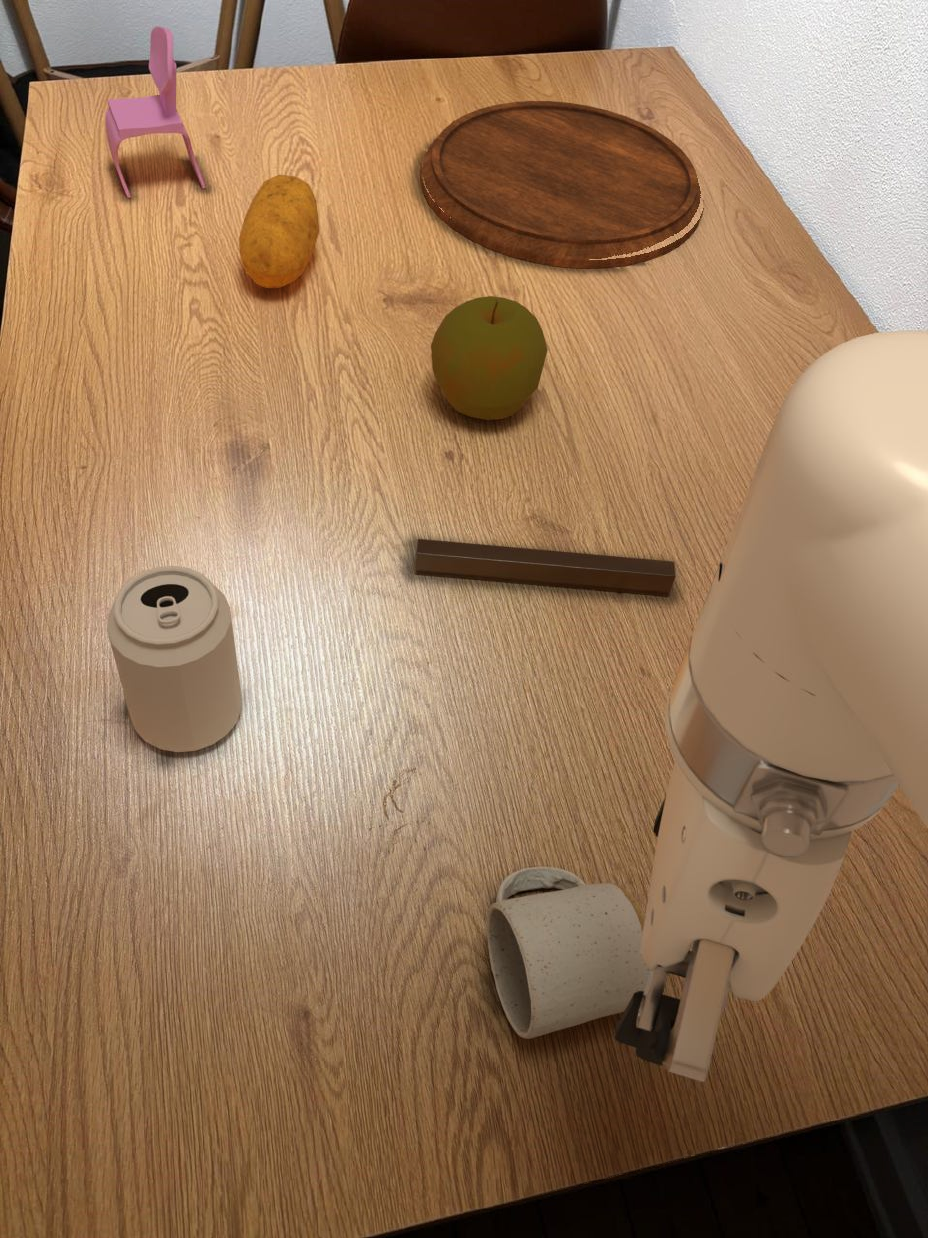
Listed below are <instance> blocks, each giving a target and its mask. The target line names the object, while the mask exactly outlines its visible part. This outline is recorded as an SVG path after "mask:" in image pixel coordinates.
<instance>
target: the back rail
mask: <svg viewBox="0 0 928 1238" xmlns="http://www.w3.org/2000/svg"><path fill="white" fill-rule="evenodd" d="M416 540H417V541H416V542H417V543H416V551H415V564H414V574H415V575H421V576H431V577H443V578H455V579H466V580H478V581H479V580H480V581H489V582H501V583H510V584H511V583H512V584H523V585H524V584H525V585H536V586H545V587H546V586H547V587H558V588H569V589H581V590H591V591H592V590H593V591H603V592H615V593H626V594H637V595H638V594H639V595H649V596H661V597H670V594H671V591H672V589H673V585H674V582H675V579H676V578H677V577H676V576H677V575H676V566H675V561H672V560H661V559H651V558H650V559H649V558H640V557H629V556H628V557H627V556H617V555H605V554H594V553H583V552H570V551H561V550H560V551H559V550H551V549H550V550H549V549H537V548H527V547H517V546H516V547H514V546H506V545H505V546H503V545H493V544H483V543H482V544H480V543H469V542H458V541H447V540H437V539H425V538H424V539H423V538H418V539H416Z"/></svg>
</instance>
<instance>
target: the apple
mask: <svg viewBox="0 0 928 1238" xmlns="http://www.w3.org/2000/svg"><path fill="white" fill-rule="evenodd" d="M430 353H431V366H432V372H433V375H434V377H435V380H436V382H437V385H438V387H439V388H440V390H441V392H442V395H443V396H444V398H445V400H446V402H447V403H448V404H449V405H450V406H451V407H452V408H453V409H454V410H455V411H456V412H457V413H460V414H462V415H465V416H468V417H469V418H475V419H480V420H487V421H490V420H503V419H506V418H508V417H511V416H513V415H516V414H517V413H519V411H520V410H521V409H522V407H523V406H524V405H525V403H527V402H528V400H529V399H530V398H531V396H532V395H534V393H535V392H536V391H537V389H539V386H540V381H541V378H542V374H543V369H544V366H545V361H546V357H547V354H548V345H547V343H546V338H545V334H544V330H543V328H542V326H541V324H540V322H539V320H538V318H537V317H536V316H535V314H533V313H532V312H531V311H530V310H529V309H528V308H527V307H525V305H523V304H521V303H520V302H518V301H516V300H513V299H509V298H506V297H503V296H494V295H493V296H492V295H487V296H481V297H476V298H475V297H474V298H471V299H469V300H466V301H465V302H462V303H461V304H459V305H458V306H456V307H454V308H453V309H452V310H450V311H449V313H447V314H446V315H445V316H443V319H442V320H441V322H440V324H439V326H438V327H437V329H436V331H435V332H434V336H433V338H432V340H431V344H430Z"/></svg>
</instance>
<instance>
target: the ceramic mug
mask: <svg viewBox="0 0 928 1238" xmlns="http://www.w3.org/2000/svg"><path fill="white" fill-rule="evenodd" d="M552 888H554V889H559V890H555V891H547V892H542V893H536V894H535V893H534V894H530V895H525V896H519V897H518V896H517V897H514V898H513V897H512V898H510V897H511V896H513V895H516V894H517V893H519V892H524V891H530V890H540V889H552ZM495 899H496V900H495V902H493V903H492V904H490V907H489V909H488V910H487V911H488V913H487V919H486V938H487V949H488V956H489V964H490V968H491V972H492V976H493V979H494V982H495V988H496V992H497V995H498V997H499V1001H500V1004H501V1007H502V1010H503V1011H504V1014H505V1017H506V1018H507V1021H508V1022H509V1024H510V1026H511V1027H512V1029H513V1030H514V1032H515V1034H516V1035H517V1036H518V1037H520V1038H523V1039H526V1040H530V1039H534V1038H537V1037H540V1036H544V1035H547V1034H550V1033H554V1032H558V1031H560V1030H565V1029H569V1028H571V1027H575V1026H579V1025H583V1024H585V1023H587V1022H590V1021H593V1020H597V1019H600V1018H605V1017H608V1016H613V1015H616V1014H617V1015H618V1014H620V1013H624V1011H625V1009H626V1008H627V1006H628V1004H629V1002H630V1000H631V998H632V996H633V994H634V993H635V992H636V993H637V992H638V991H644V989H645V986H646V982H647V979H648V976H649V972H650V968H649V967H648V966H647V964H646V963H645V961H644V959H643V957H642V955H641V942H642V935H643V928H644V922H645V916H646V913H645V912H644V910H643V908H642V906H641V905H640V903H639V902H638V900H637V898H636V897H635V896H634V895H633V894H632V893H631V892H630V891H629V890H628V889H627V888H625V887H624V886H622V885H620V884H619V883H611V882H610V883H609V882H605V883H601V882H600V883H599V882H598V883H589V884H586V882H584V880H583V879H581V878H580V877H578V876H577V875H576V874H575V873H573V872H571V871H568V870H565V869H563V868H560V867H554V866H530V867H525V868H522V869H521V868H520V869H518V870H516V871H514V872H512V873H510V874H509V875H507V876H506V877H505V878H504V879H503V881H502V882H501V884H500V885H499V888H498V889H497V893H496V898H495Z"/></svg>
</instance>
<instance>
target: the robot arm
mask: <svg viewBox="0 0 928 1238" xmlns="http://www.w3.org/2000/svg"><path fill="white" fill-rule="evenodd" d="M664 725H665V734H666V735H665V736H666V738H667V741H668V746H669V749H670V751H671V753H672V756H673V758H674V762H673V765H672V770H671V773H670V778H669V782H668V787H667V791H666V794H665V797H664V799H663V800H662V804H661V806H660V808H659V810H658V813H657V815H656V817H655V819H654V823H653V829H652V831H653V833H654V834H655V837H656V838H657V839H656V845H655V852H654V857H653V863H652V870H651V876H650V881H649V889H648V896H647V905H646V911H645V922H644V928H643V935H642V942H641V955H642V957H643V959H644V961H645V963H646V964H647V966H648V967H649V968H650V972H649V976H648V979H647V982H646V986H645V989H644V991H638V992H637V993H636V992H635V993H634V994H633V996H632V998H631V1000H630V1002H629V1004H628V1006H627V1008H626V1009H625V1011H623V1012H622V1015H621V1017H620V1019H619V1020H618V1022H617V1024H616V1028H615V1032H614V1033H615V1034H614V1040H615V1041H616V1042H618V1044H619V1043H620V1044H622V1045H626V1046H629V1047H632V1048H635V1049H636V1051H635V1054H636V1057H638V1058H639V1059H641V1060H642V1061H646V1062H647V1063H651V1064H653V1065H658V1066H661V1067H663V1068H664V1069H665V1071H666V1072H668V1073H671V1074H674V1075H678V1076H681V1077H685V1078H687V1079H691V1080H694V1081H697V1082H700V1083H705V1082H706V1079H707V1077H708V1074H709V1070H710V1066H711V1061H712V1057H713V1052H714V1049H715V1048H714V1047H715V1044H716V1039H717V1034H718V1029H719V1025H720V1023H721V1019H722V1017H723V1013H724V1010H725V1006H726V1003H727V1000H728V996H729V995H730V994H729V993H730V990H731V992H732V995H733V997H734V998H737V999H741V1000H746V1001H750V1002H760V1001H761V1000H763V999H765V998H766V997H767V996H768V995H769V994H770V993H771V992H772V991H774V990H773V989H774V988H775V987H776V985H777V984H778V983H779V981H780V980H781V978H782V977H783V975H784V974H785V973H786V971H787V970H788V968H789V967H790V965H791V964H792V961H793V960H794V958H795V957H796V955H797V953H798V952H799V950H800V949H801V947H802V945H803V944H804V943H805V940H806V939H807V937H808V936H809V934H810V932H811V930H812V928H813V927H814V925H815V923H816V921H817V919H818V917H819V915H820V914H821V912H822V910H823V908H824V906H825V904H826V902H827V899H828V897H829V895H830V893H831V891H832V889H833V887H834V885H835V882H836V880H837V877H838V875H839V872H840V870H841V867H842V864H843V862H844V859H845V856H846V854H847V850H848V847H849V843H850V840H851V836H852V832H853V831H855V830H857V829H860V828H861V827H863V826H864V825H865V824H867V823H869V822H870V821H871V820H873V819H874V818H875V817H876V816H877V815H878V814H879V813H880V812H881V811H882V809H884V807H885V806H886V804H887V803H888V802H889V801H890V799H891V798H892V796H893V794H894V793H895V792H896V791H897V790H898V788H901V790H902V792H903V794H904V795H905V796H906V798H907V800H908V801H909V804H911V806H912V807H913V809H914V811H915V812H916V814H917V816H918V817H919V819H920V821H922V823H923V825H924V826H925V828H926V829H927V830H928V330H907V329H906V330H905V329H904V330H903V329H902V330H894V331H893V330H892V331H882V332H874V333H870V334H866V335H865V334H864V335H861V336H857V337H854V338H852V339H850V340H848V341H846V342H842V343H840V344H838V345H837V346H834V347H833V348H831V349H829V350H828V351H827V352H825V353H823V354H822V355H820V356H819V357H817V358H816V359H815V360H814V361H812V363H810V364H809V366H807V367H806V368H805V369H804V370H803V372H802V373H801V374H800V375H799V377H798V378H797V379H796V380H795V382H794V383H793V384H792V386H791V387H790V388H789V390H788V391H787V393H786V396H785V397H784V399H783V401H782V403H781V406H780V408H779V410H778V412H777V414H776V417H775V419H774V421H773V423H772V426H771V428H770V431H769V434H768V436H767V439H766V441H765V444H764V447H763V450H762V452H761V454H760V457H759V459H758V462H757V464H756V467H755V470H754V472H753V475H752V477H751V481H750V483H749V486H748V488H747V491H746V494H745V496H744V498H743V500H742V504H741V506H740V508H739V512H738V514H737V517H736V519H735V522H734V525H733V527H732V530H731V532H730V534H729V537H728V540H727V543H726V545H725V548H724V551H723V553H722V555H721V558H720V561H719V564H718V566H717V569H716V571H715V574H714V576H713V579H712V582H711V584H710V587H709V590H708V593H707V595H706V597H705V600H704V603H703V605H702V608H701V611H700V614H699V616H698V618H697V621H696V624H695V626H694V629H693V631H692V633H691V636H690V638H689V641H688V643H687V646H686V649H685V652H684V653H683V657H682V658H681V662H680V664H679V666H678V669H677V672H676V675H675V677H674V680H673V682H672V686H671V687H670V691H669V693H668V696H667V698H666V704H665V709H664ZM691 948H692V949H691ZM669 974H671V975H674V976H678V977H681V978H685V979H684V982H683V987H682V992H681V996H680V998H677V997H674V996H671V995H666V994H664V991H665V988H666V984H667V982H668V978H669Z"/></svg>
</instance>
